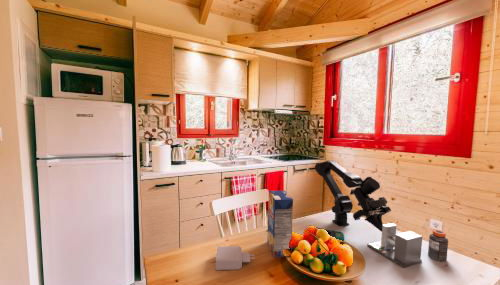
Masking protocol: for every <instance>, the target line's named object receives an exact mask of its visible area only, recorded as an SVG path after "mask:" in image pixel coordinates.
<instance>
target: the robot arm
mask: <svg viewBox="0 0 500 285" xmlns="http://www.w3.org/2000/svg"><path fill="white" fill-rule="evenodd" d="M314 169H315V172H316V173H317V174H318V175H319V176H321V177H322V178H323V180H324V182H325V183H326V185H327V187H328V189H329V191H330V192H331V194H332V195H333V198H334V202H333V203H334V205H333V206H332V207H331V211H332V212H331V213H334V219H332V222H333V223H334V224H335V225H337V226H338V227H339V226H340V227H341V226H342V227H343V226H349V225H350V223H348V214H351V212H352V210H353V207H354V204H353V201H352V200H351V199H350V196H354V197H355V199H356V201H357V202H358V203H357V206H359V207H360V208H361V209H358V210H357V211H355V212H354V213H353V214H352V218H353V220H354V221H359V220H361V217H365V219H364V221H367V222H368V223H369V224H371V225H372V226H373V227H375V228H376V229H377V230H379V231H380V232H381V233H382V225H384V223H383V220H382V217H383V216H385V215H386V214H388V213H389V212H391V211H392V209H391V208H390V206H388V205H387V204H388V200H387V198H385V196H380V197H378V199H374V197H370V195H372V194H374V193H375V192H377V190H379V189H380V188H381V184H380V182H378V180H376V179H375V178H372V176H367V177H366V178H364V179H362V178H361V176H359V175H357V174H356V173H352V172H349V171H348V170H347V169H345V168H344V167H343V166H342V165H340V164H338V163H337V161H336V160H327V161H323V162H317V163H316V164H315V166H314ZM331 172H334V173H335V174H337V176H338V177H340V179H342V182H343V183H344V184H345V186H346V187H347V188H349V189H350V188H353V189H350V193H349V195H350V196H349V195H348V194H347V195H345V194H343V192H342V191H341V189H340V187H339V185H338V184H337V182H336V181H335V179H334V177H333V175H332V174H331Z"/></svg>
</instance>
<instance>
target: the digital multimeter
mask: <svg viewBox="0 0 500 285" xmlns="http://www.w3.org/2000/svg"><path fill="white" fill-rule="evenodd" d="M317 228H318V229H322V227H321V228H320V227H317ZM324 229H325V230H326V231H327V232H328V234H329V235H330V236H332V237H335V238H336V239H339V240H342V241H344V242H345V234H344V232H343V231H337V230H332V229H326V228H324Z"/></svg>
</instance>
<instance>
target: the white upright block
mask: <svg viewBox="0 0 500 285" xmlns="http://www.w3.org/2000/svg"><path fill="white" fill-rule="evenodd" d="M396 234H397V224H395V223H393V222H391V223H386V224H383V225H382V232H381V239H380V241H381V248H378V249H379V250H381V249H385V250H386V249H390V248H393V247H395V236H396Z"/></svg>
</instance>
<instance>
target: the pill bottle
mask: <svg viewBox="0 0 500 285" xmlns="http://www.w3.org/2000/svg"><path fill="white" fill-rule="evenodd" d="M448 246H449V240H448V238H447V237H446V232H445V231H443V230H440V229H433V230H432V233H430V234H429V239H428V249H427V251H428V252H427V255H428V256H429V258H431V259H432V260H435V261H437V262H446V261H447V260H448V248H449V247H448Z"/></svg>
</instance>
